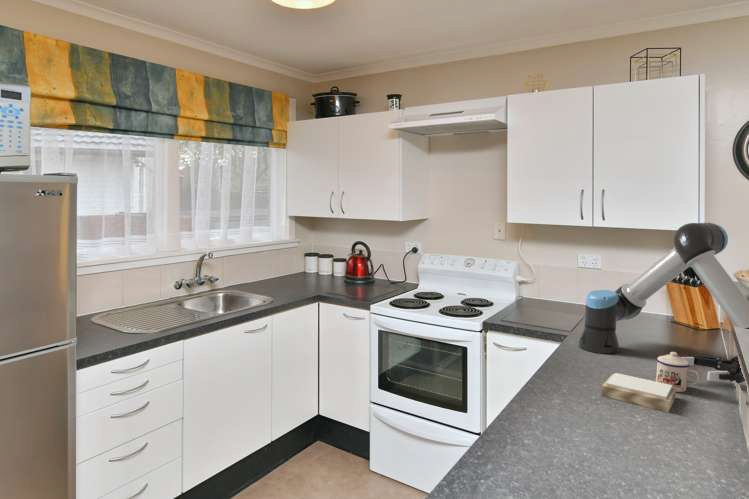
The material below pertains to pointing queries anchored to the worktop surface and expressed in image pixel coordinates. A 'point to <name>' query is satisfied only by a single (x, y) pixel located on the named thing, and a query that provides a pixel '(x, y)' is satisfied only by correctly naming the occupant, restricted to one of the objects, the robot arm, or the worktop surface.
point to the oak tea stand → (639, 391)
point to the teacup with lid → (674, 371)
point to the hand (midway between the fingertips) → (691, 368)
